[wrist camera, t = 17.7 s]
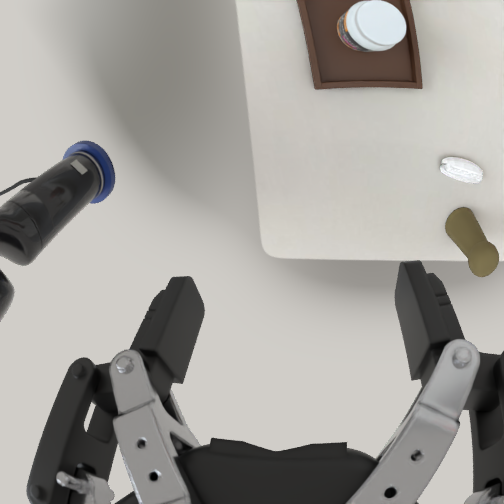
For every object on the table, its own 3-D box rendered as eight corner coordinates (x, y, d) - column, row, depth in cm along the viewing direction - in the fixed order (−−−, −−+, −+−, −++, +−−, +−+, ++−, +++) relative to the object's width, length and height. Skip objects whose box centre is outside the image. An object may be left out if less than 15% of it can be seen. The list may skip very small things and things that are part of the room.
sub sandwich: (475, 181, 32) (483, 189, 30) (435, 170, 33) (442, 178, 31) (480, 163, 30) (489, 170, 28) (440, 150, 31) (448, 157, 29)
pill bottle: (327, 20, 24) (337, 5, 16) (367, 4, 21) (390, -12, 14) (351, 58, 26) (371, 58, 19) (390, 43, 24) (422, 40, 16)
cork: (477, 207, 35) (509, 249, 26) (469, 238, 38) (496, 282, 30) (448, 207, 36) (479, 250, 28) (442, 238, 40) (466, 285, 31)
